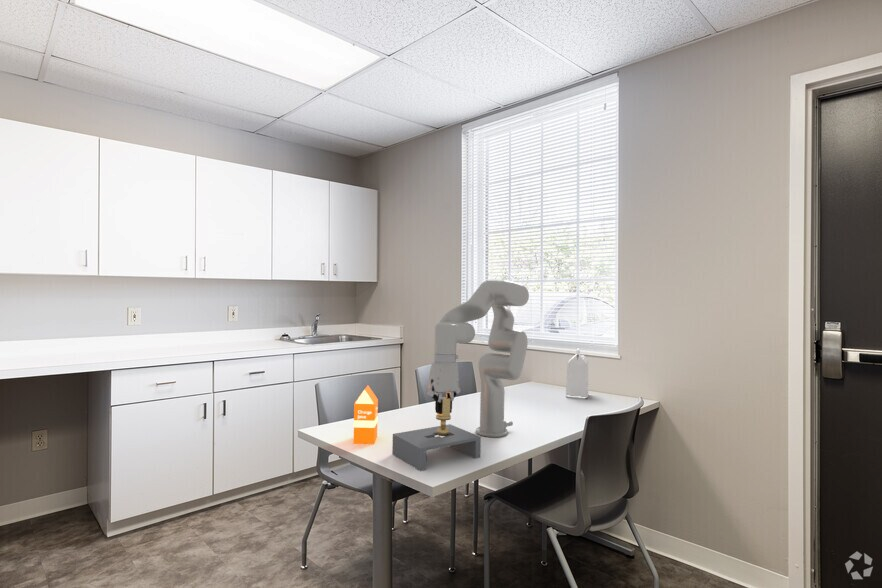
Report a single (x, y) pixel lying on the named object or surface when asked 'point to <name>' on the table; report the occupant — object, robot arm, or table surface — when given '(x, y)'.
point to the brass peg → (444, 417)
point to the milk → (577, 376)
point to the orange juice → (365, 418)
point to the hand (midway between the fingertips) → (443, 412)
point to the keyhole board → (433, 444)
